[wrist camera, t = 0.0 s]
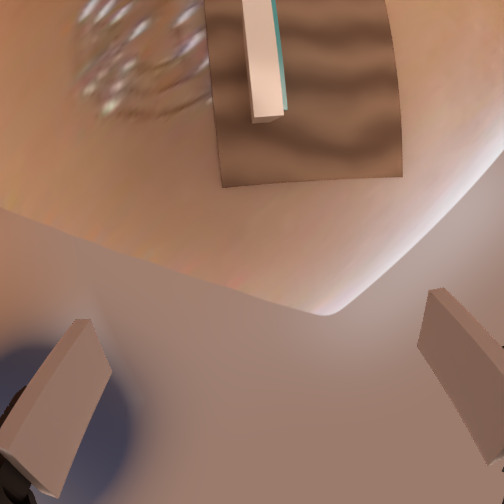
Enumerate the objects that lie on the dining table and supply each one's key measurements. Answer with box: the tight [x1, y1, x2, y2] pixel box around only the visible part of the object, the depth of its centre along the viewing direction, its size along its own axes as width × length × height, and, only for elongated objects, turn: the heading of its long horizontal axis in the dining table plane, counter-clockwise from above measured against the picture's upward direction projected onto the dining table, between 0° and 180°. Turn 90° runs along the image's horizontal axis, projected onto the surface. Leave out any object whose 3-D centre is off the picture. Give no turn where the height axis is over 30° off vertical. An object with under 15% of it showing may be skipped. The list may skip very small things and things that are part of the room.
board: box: [204, 0, 403, 188], centre depth 31 cm, size 24×22×2 cm
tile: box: [242, 0, 288, 124], centre depth 24 cm, size 10×2×14 cm, turn 5°
